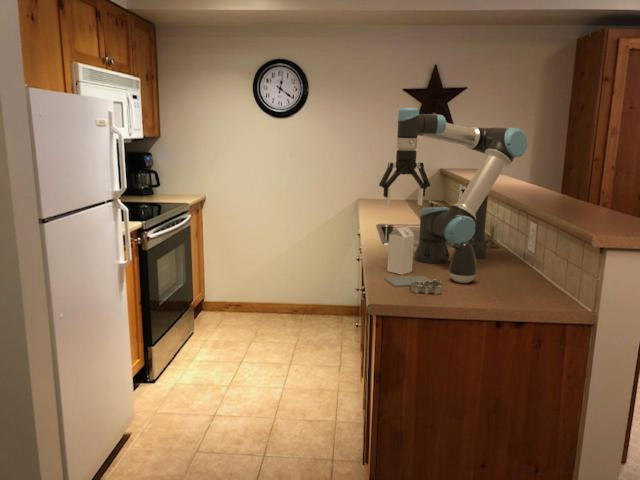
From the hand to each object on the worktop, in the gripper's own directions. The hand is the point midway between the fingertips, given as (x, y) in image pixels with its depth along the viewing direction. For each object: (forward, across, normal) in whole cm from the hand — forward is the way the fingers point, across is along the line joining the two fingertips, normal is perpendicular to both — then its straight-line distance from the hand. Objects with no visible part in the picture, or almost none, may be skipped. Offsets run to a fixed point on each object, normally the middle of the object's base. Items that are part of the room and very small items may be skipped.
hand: (403, 205), depth 207 cm
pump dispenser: (+27, +18, -17) cm, 36 cm away
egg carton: (+27, -1, -26) cm, 37 cm away
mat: (+27, -2, -14) cm, 30 cm away
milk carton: (+27, 0, 0) cm, 27 cm away
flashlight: (+27, +45, +18) cm, 55 cm away
